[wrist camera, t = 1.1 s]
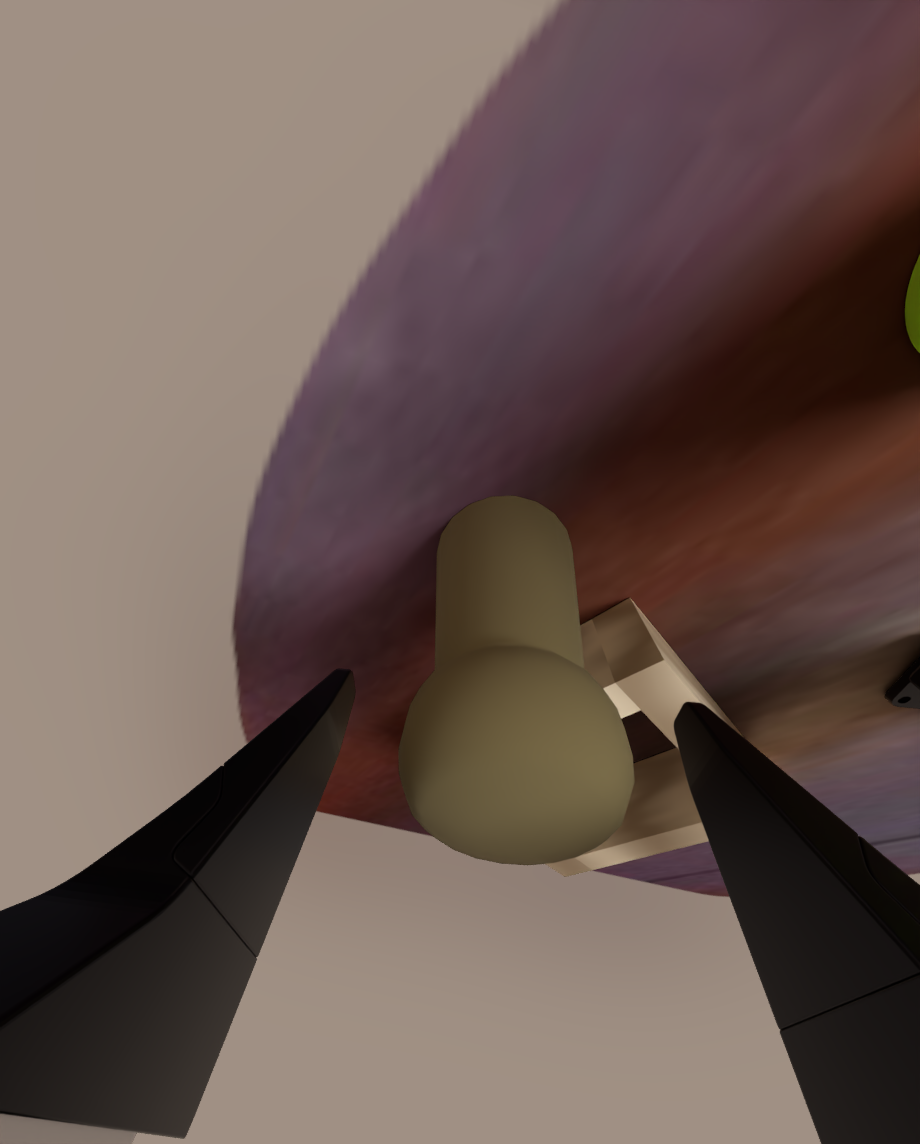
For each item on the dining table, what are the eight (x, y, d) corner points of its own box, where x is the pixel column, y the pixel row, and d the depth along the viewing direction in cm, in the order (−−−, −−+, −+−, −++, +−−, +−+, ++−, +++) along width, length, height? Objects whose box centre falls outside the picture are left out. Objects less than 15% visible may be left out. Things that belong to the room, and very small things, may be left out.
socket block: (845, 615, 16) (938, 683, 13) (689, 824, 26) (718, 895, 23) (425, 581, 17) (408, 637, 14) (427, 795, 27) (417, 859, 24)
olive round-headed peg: (531, 629, 18) (569, 920, 9) (418, 586, 18) (330, 855, 8) (600, 529, 15) (767, 811, 6) (468, 471, 14) (419, 690, 5)
